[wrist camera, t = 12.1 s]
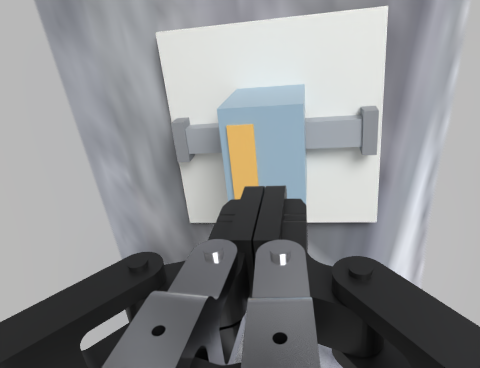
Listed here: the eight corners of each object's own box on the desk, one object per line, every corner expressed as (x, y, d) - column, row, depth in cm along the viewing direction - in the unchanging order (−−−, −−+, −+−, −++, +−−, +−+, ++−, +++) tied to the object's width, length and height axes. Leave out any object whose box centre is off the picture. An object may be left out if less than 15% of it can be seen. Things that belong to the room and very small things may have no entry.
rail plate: (160, 31, 28) (147, 33, 25) (385, 6, 24) (393, 5, 22) (193, 217, 34) (184, 231, 32) (374, 216, 31) (379, 231, 29)
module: (236, 88, 27) (215, 109, 21) (304, 84, 26) (303, 104, 20) (245, 175, 30) (229, 215, 24) (306, 173, 29) (306, 215, 23)
